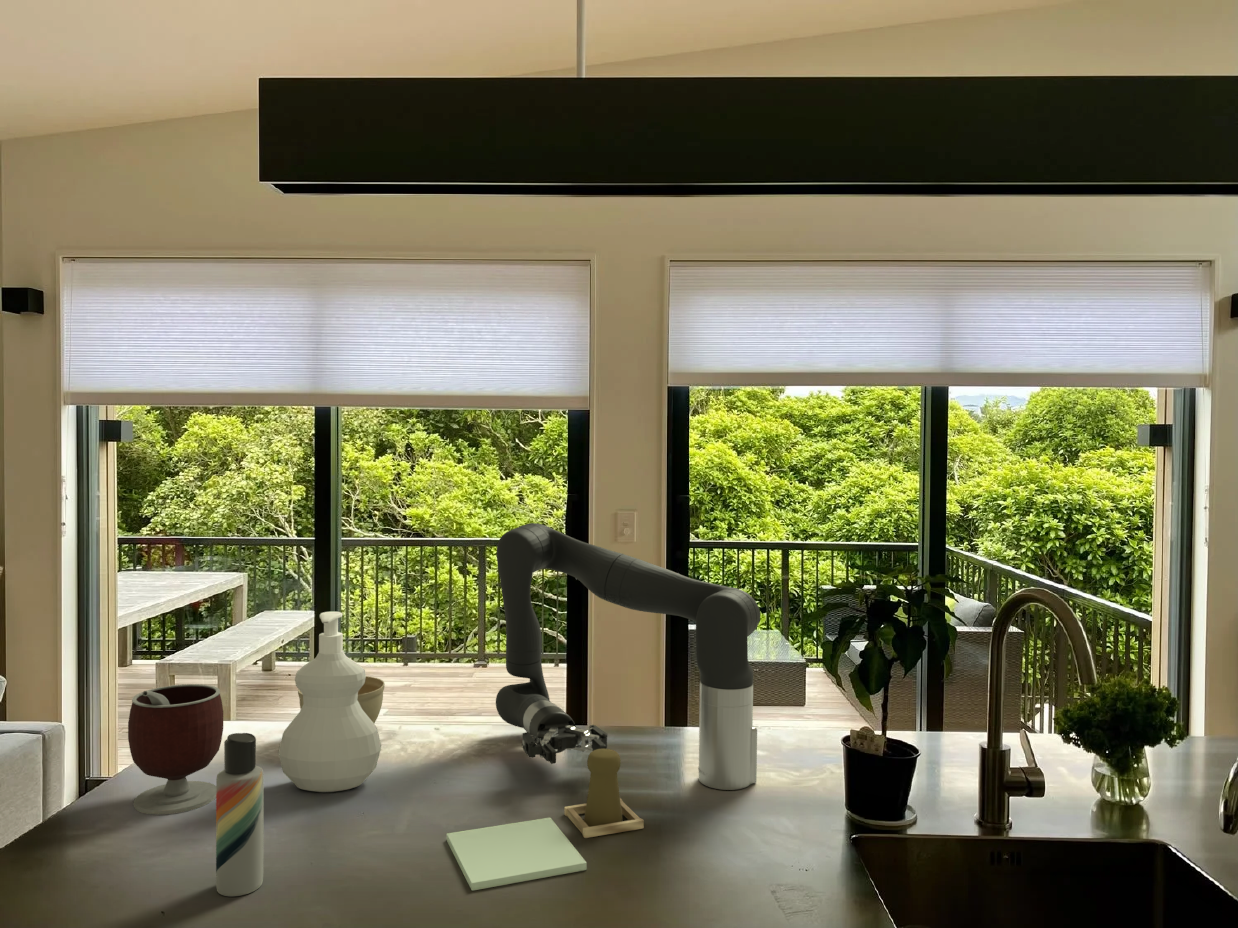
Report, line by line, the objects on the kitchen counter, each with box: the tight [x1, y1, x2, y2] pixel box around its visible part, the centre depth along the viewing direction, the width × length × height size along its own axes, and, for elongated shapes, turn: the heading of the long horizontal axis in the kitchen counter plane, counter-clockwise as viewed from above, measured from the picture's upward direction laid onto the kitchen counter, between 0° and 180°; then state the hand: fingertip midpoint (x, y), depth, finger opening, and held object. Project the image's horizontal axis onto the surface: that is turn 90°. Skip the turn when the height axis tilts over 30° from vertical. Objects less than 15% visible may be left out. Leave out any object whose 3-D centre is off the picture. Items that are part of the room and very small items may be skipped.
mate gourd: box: [127, 683, 224, 816], centre depth 145 cm, size 16×14×20 cm
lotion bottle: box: [215, 732, 264, 897], centre depth 118 cm, size 6×6×20 cm
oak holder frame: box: [563, 797, 645, 839], centre depth 140 cm, size 10×9×1 cm
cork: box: [583, 748, 623, 827], centre depth 140 cm, size 6×6×11 cm
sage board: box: [446, 817, 588, 891], centre depth 128 cm, size 16×16×1 cm
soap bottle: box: [278, 611, 382, 793], centre depth 153 cm, size 17×12×29 cm
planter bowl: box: [297, 675, 386, 724], centre depth 176 cm, size 16×16×11 cm
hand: (578, 754), depth 150 cm, fingers open, 8 cm apart
